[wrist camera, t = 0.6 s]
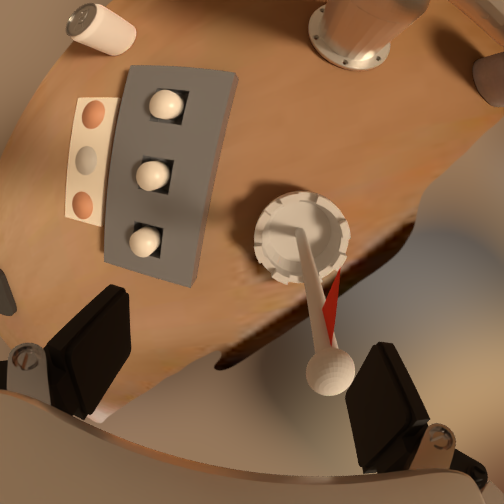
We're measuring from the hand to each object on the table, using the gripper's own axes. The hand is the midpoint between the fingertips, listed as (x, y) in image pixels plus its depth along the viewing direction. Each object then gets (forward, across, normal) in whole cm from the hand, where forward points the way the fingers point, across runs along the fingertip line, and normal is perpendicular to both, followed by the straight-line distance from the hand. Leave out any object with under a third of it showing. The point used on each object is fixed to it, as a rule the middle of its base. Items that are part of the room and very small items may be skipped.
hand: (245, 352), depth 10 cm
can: (+32, +30, -24) cm, 50 cm away
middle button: (+30, +16, -2) cm, 34 cm away
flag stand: (+33, -6, +3) cm, 33 cm away
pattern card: (+33, +31, -2) cm, 45 cm away
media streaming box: (+35, +70, +37) cm, 87 cm away
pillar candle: (+31, -35, -34) cm, 58 cm away
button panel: (+33, +16, -2) cm, 36 cm away
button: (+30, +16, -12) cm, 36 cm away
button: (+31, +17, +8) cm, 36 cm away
